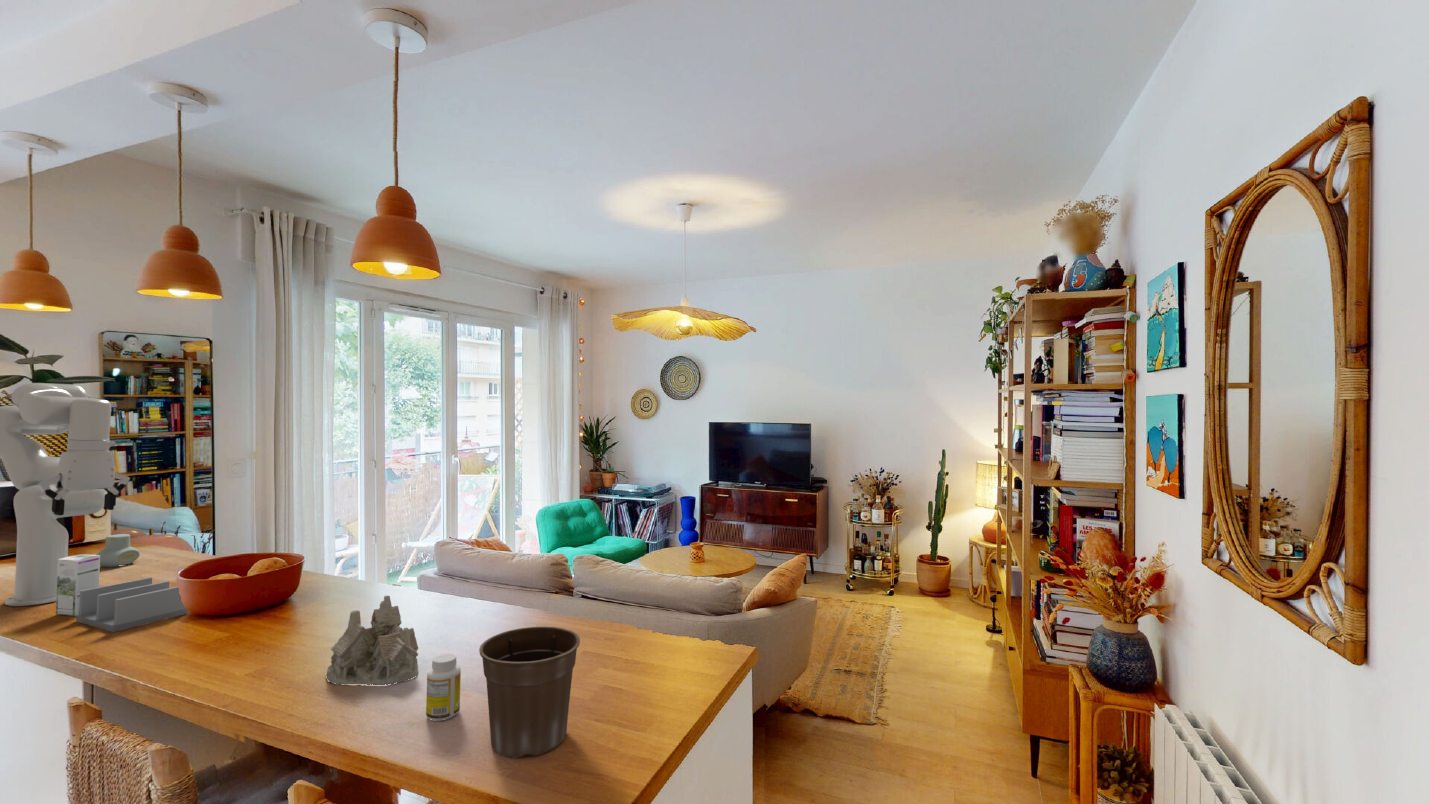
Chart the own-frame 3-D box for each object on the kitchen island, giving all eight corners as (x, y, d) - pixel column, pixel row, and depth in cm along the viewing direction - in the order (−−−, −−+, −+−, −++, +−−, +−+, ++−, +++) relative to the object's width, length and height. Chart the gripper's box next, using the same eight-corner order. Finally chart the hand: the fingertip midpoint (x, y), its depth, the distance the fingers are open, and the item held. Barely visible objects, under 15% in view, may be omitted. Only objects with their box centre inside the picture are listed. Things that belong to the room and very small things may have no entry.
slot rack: (75, 621, 149) (77, 591, 149) (151, 604, 163) (152, 576, 163) (113, 632, 143) (114, 600, 143) (188, 613, 157) (189, 584, 157)
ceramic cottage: (323, 669, 125) (329, 598, 125) (409, 655, 135) (415, 589, 135) (330, 704, 113) (337, 625, 113) (424, 685, 123) (431, 612, 123)
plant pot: (453, 753, 96) (456, 651, 97) (519, 708, 111) (522, 620, 112) (537, 777, 90) (540, 669, 91) (595, 726, 106) (598, 633, 106)
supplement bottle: (450, 704, 112) (452, 649, 112) (465, 714, 108) (467, 657, 109) (420, 715, 108) (422, 658, 108) (434, 726, 104) (436, 666, 104)
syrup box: (99, 609, 158) (102, 554, 159) (73, 616, 152) (76, 559, 153) (80, 608, 159) (83, 553, 159) (53, 615, 153) (56, 558, 153)
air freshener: (123, 560, 207) (124, 531, 208) (144, 562, 206) (146, 532, 207) (87, 568, 196) (88, 538, 197) (109, 570, 196) (111, 539, 196)
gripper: (123, 444, 166) (119, 506, 165) (33, 446, 150) (29, 515, 149) (138, 446, 163) (134, 509, 163) (49, 448, 147) (44, 518, 147)
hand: (84, 512), depth 156 cm, fingers open, 9 cm apart
